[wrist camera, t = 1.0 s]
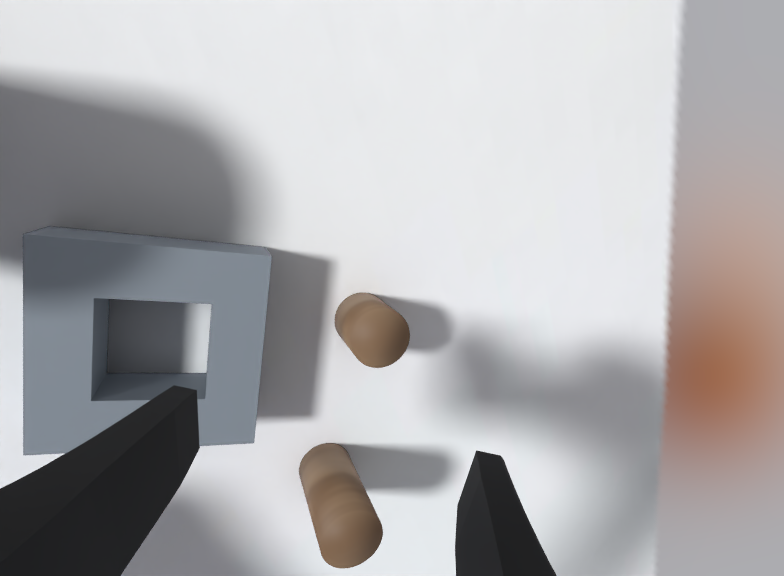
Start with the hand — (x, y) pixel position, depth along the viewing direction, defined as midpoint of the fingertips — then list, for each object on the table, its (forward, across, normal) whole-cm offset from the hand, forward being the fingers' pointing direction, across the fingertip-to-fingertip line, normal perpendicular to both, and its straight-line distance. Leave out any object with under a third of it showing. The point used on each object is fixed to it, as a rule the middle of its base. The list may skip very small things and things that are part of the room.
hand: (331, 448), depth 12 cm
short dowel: (+14, +1, +5) cm, 14 cm away
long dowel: (+10, +2, +13) cm, 17 cm away
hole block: (+9, +10, +5) cm, 14 cm away
